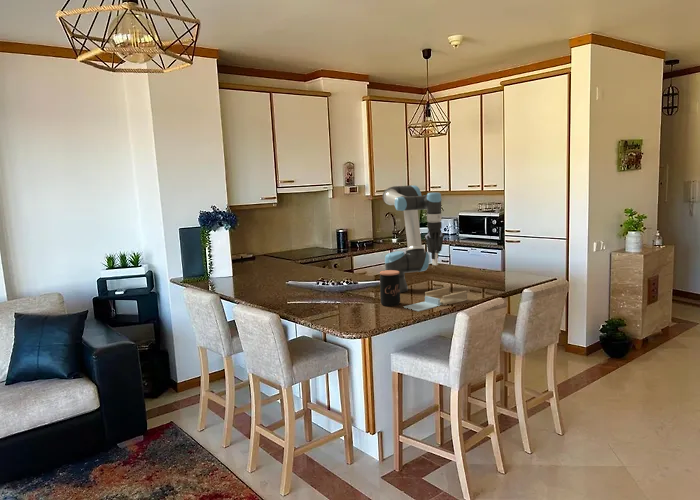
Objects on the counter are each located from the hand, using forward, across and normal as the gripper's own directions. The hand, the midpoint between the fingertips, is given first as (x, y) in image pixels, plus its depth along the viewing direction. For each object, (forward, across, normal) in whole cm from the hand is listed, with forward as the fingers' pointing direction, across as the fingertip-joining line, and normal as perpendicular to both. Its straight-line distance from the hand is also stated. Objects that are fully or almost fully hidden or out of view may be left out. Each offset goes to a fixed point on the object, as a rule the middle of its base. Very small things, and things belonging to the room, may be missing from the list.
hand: (435, 264), depth 290 cm
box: (+21, +6, -2) cm, 22 cm away
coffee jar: (+21, -21, +13) cm, 32 cm away
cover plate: (+21, -12, -3) cm, 24 cm away
